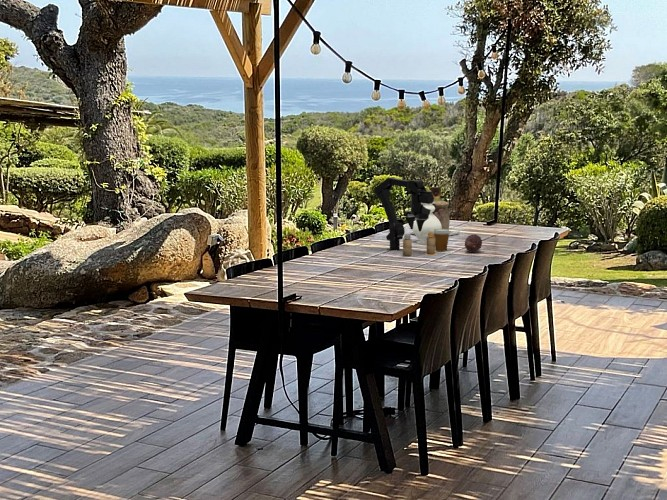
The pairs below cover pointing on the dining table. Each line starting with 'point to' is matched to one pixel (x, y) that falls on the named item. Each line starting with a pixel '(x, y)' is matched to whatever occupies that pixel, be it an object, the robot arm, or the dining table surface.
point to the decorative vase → (427, 225)
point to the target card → (412, 255)
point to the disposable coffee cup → (441, 239)
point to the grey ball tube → (407, 245)
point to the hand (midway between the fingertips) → (415, 230)
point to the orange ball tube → (430, 244)
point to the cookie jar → (441, 209)
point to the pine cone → (473, 243)
